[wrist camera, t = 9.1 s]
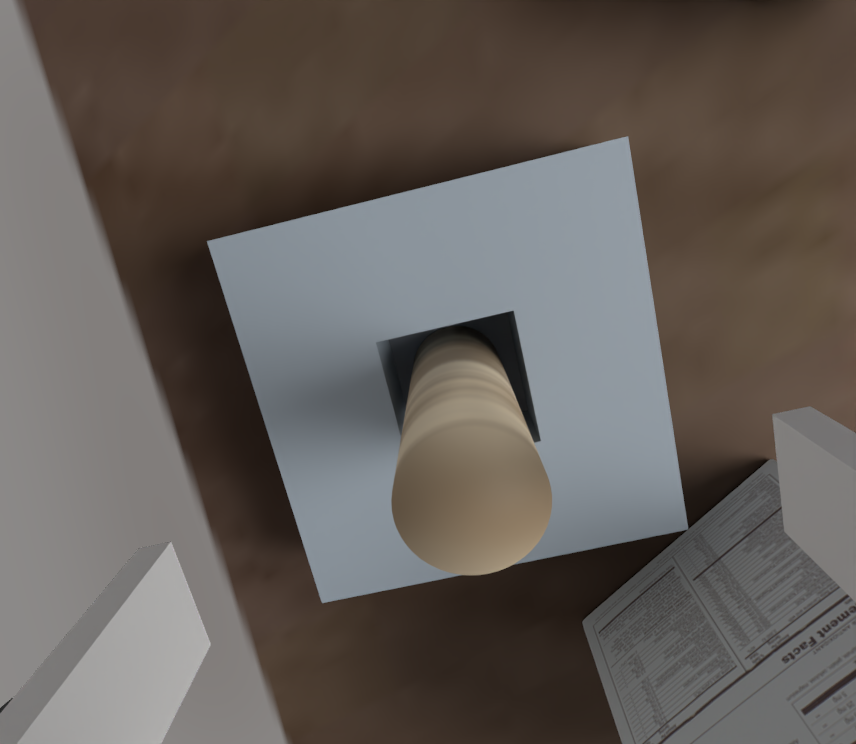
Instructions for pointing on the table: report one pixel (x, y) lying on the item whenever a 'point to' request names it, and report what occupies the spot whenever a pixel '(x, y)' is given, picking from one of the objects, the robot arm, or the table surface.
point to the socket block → (471, 307)
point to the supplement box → (730, 635)
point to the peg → (467, 461)
